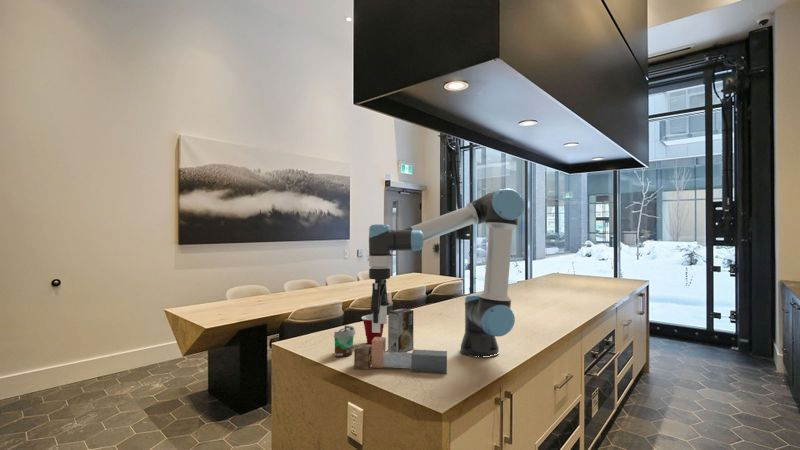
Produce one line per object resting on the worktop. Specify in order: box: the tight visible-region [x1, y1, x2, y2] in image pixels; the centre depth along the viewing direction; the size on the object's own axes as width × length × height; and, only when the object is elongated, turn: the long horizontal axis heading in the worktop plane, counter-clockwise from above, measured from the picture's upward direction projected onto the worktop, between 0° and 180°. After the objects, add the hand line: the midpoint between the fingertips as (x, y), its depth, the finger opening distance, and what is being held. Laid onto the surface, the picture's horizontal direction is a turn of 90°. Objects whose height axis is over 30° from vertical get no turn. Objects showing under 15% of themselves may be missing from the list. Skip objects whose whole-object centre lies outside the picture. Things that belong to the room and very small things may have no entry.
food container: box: [333, 325, 356, 359], centre depth 149 cm, size 12×6×10 cm, turn 168°
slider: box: [369, 336, 412, 369], centre depth 134 cm, size 22×5×9 cm, turn 83°
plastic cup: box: [361, 313, 385, 345], centre depth 166 cm, size 11×11×12 cm
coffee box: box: [387, 308, 414, 353], centre depth 157 cm, size 9×6×16 cm
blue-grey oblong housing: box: [410, 349, 448, 375], centre depth 132 cm, size 12×6×6 cm, turn 83°
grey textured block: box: [353, 343, 372, 371], centre depth 135 cm, size 5×6×7 cm
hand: (379, 327), depth 135 cm, fingers open, 13 cm apart
